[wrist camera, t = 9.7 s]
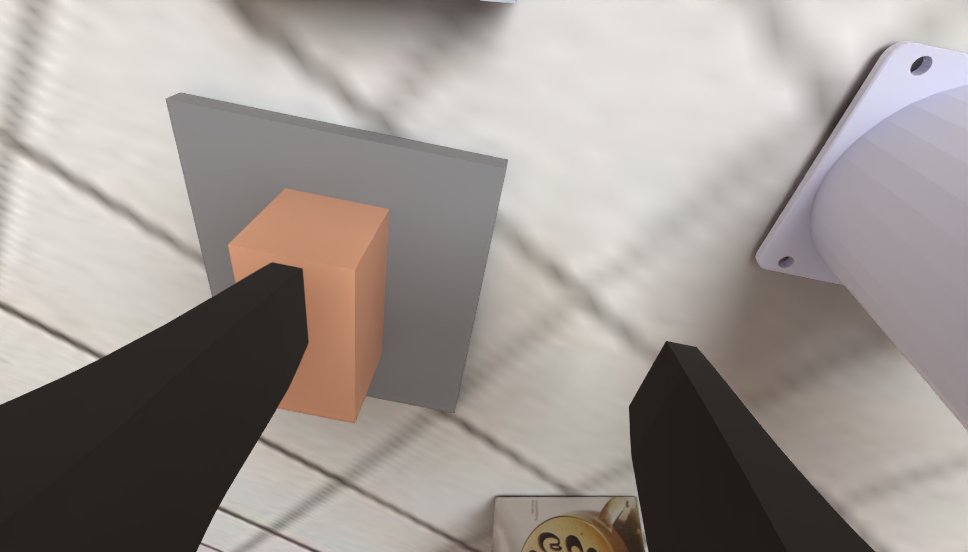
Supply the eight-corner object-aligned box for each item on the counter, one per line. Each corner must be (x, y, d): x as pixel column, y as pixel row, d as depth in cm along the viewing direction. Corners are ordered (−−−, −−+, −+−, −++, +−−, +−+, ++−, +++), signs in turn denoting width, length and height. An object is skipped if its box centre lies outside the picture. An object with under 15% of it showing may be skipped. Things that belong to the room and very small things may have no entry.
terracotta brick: (285, 188, 18) (227, 244, 15) (389, 209, 18) (354, 269, 15) (300, 337, 23) (259, 404, 19) (381, 353, 23) (354, 423, 19)
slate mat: (507, 159, 17) (506, 168, 16) (456, 401, 25) (454, 413, 25) (180, 92, 17) (165, 98, 16) (237, 357, 25) (229, 369, 25)
